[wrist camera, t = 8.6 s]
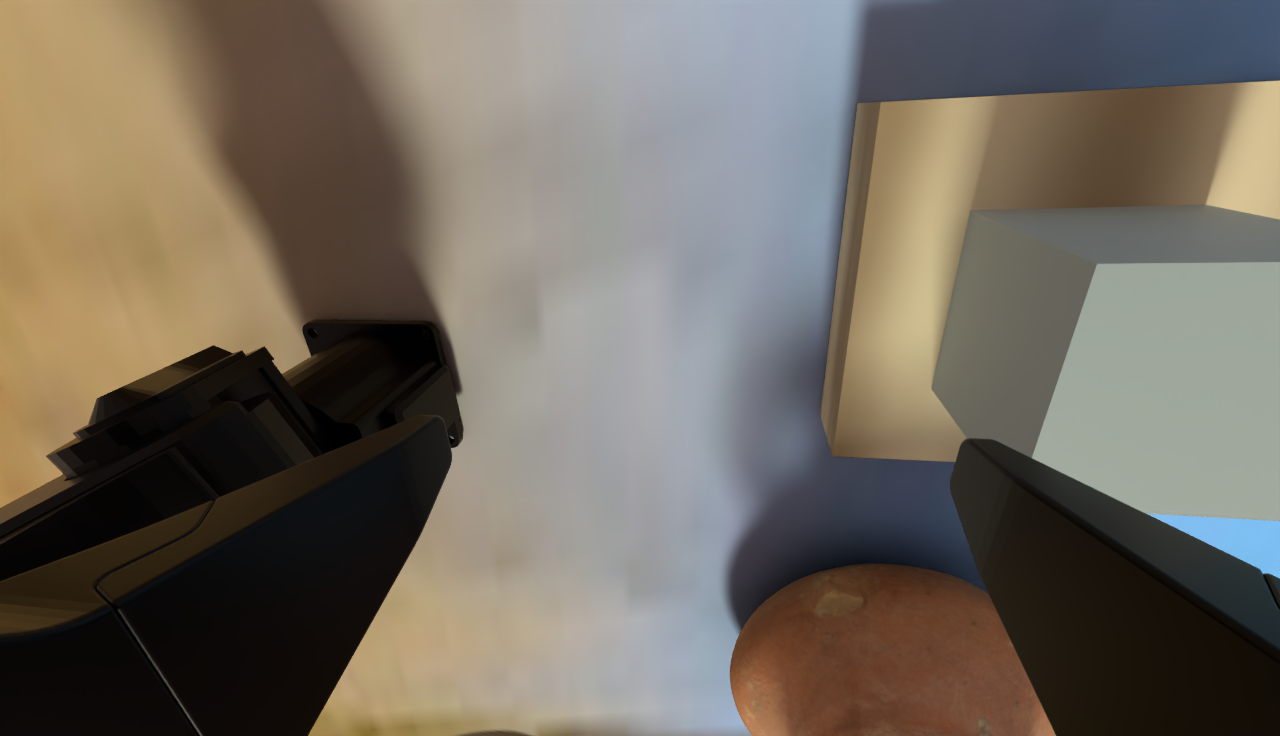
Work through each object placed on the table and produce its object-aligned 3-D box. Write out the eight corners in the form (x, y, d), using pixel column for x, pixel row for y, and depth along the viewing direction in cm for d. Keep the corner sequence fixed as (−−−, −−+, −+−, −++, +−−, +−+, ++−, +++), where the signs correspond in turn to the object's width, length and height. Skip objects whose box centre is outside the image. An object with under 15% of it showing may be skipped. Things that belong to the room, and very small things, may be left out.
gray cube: (931, 389, 18) (1015, 506, 13) (970, 210, 15) (1097, 264, 10) (1128, 393, 17) (1308, 522, 12) (1205, 204, 14) (1481, 260, 9)
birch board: (820, 415, 22) (832, 456, 20) (857, 102, 17) (880, 101, 15) (1137, 426, 21) (1197, 473, 18) (1286, 79, 15) (1403, 74, 13)
